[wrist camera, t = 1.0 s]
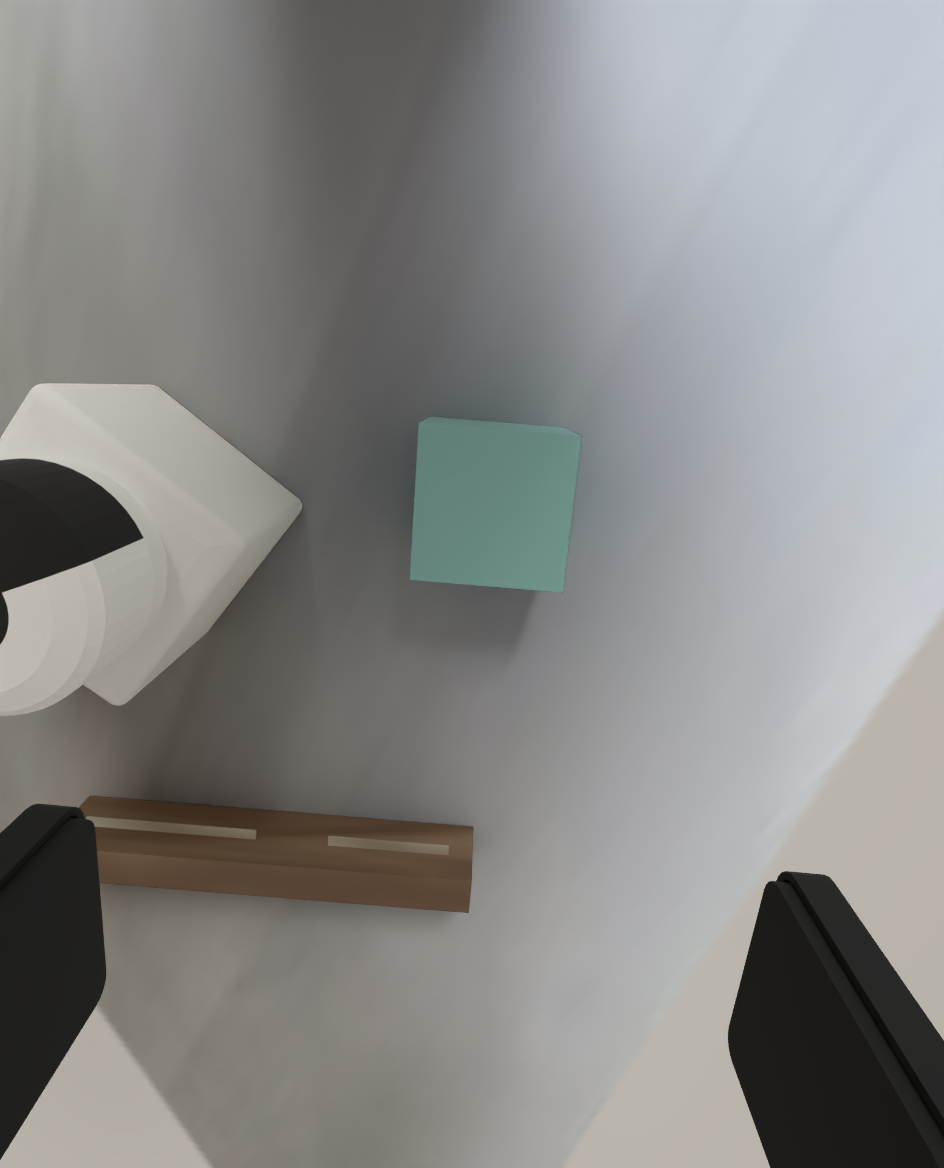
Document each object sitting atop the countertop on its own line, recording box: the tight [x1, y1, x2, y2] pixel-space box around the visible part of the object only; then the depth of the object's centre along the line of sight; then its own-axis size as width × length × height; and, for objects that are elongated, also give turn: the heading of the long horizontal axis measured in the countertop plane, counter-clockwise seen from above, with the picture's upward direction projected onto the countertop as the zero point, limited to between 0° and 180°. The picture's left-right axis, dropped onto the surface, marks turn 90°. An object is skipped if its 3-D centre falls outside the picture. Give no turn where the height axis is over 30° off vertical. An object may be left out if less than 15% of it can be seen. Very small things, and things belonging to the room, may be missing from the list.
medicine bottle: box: [0, 383, 302, 716], centre depth 21 cm, size 7×7×12 cm
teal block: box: [410, 416, 582, 593], centre depth 24 cm, size 5×5×5 cm
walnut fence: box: [79, 796, 473, 913], centre depth 29 cm, size 2×17×4 cm, turn 85°
